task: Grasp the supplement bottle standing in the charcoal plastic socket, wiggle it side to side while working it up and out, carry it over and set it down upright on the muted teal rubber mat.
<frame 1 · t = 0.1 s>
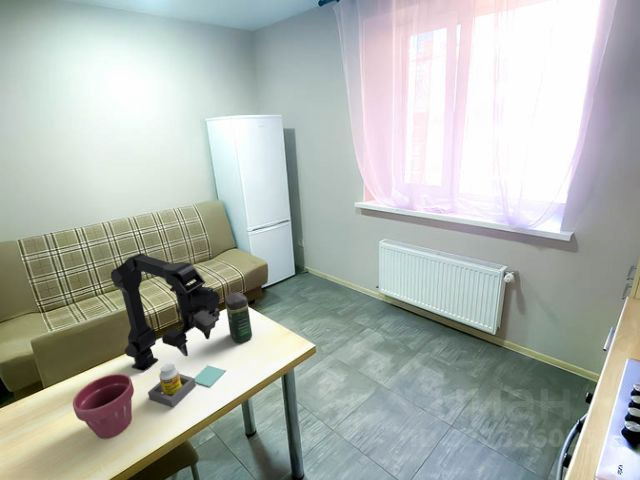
hand: (197, 347, 107), 15 cm above the table, fingers open, 9 cm apart
plant pot: (114, 425, 98), on the table
coffee jar: (241, 336, 136), on the table
supplement bottle: (173, 393, 109), resting in socket
socket: (173, 392, 109), on the table
mat: (208, 376, 115), on the table
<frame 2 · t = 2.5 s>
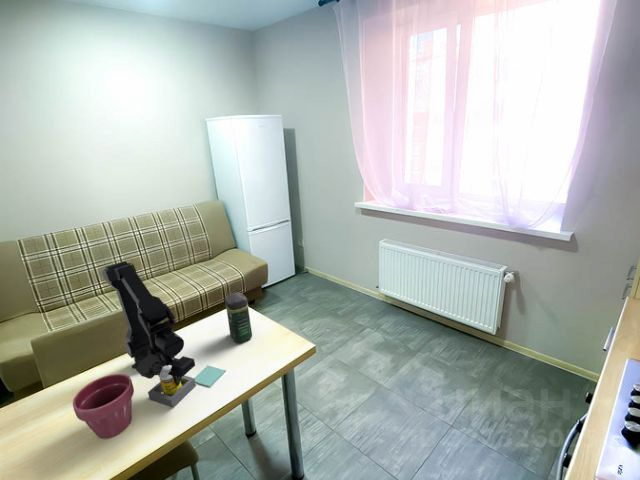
hand: (171, 382, 108), 4 cm above the table, fingers closed on supplement bottle, 5 cm apart
supplement bottle: (173, 393, 109), resting in socket, touching gripper
everything else where it was.
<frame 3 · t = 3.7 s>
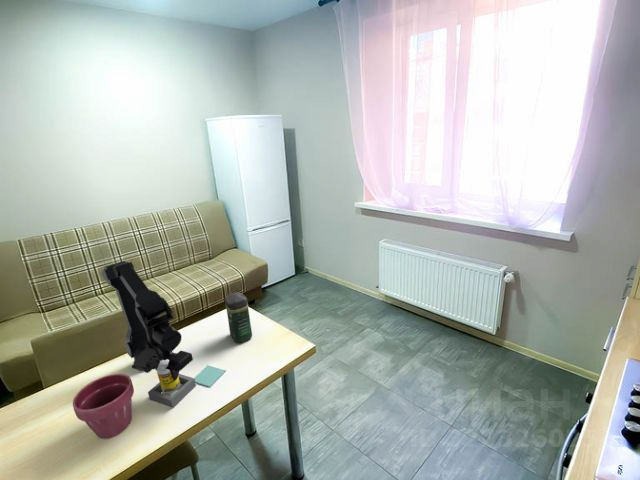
hand: (168, 377, 107), 6 cm above the table, fingers closed on supplement bottle, 5 cm apart
supplement bottle: (171, 387, 109), point 2 cm above the table, touching gripper
everything else where it was.
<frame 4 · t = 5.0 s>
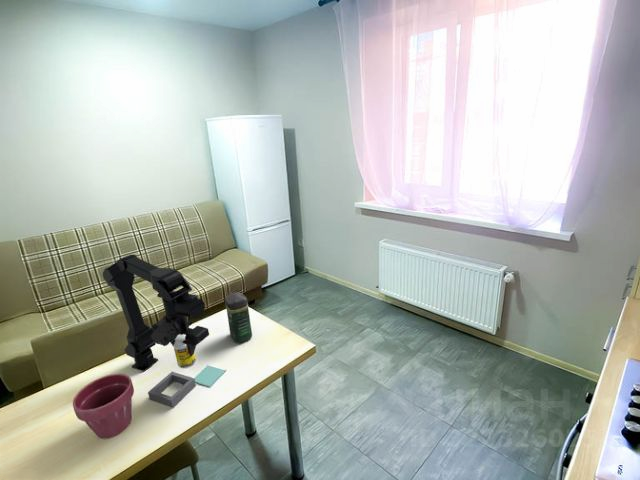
hand: (185, 352, 108), 13 cm above the table, fingers closed on supplement bottle, 5 cm apart
supplement bottle: (187, 364, 109), point 8 cm above the table, touching gripper
everything else where it was.
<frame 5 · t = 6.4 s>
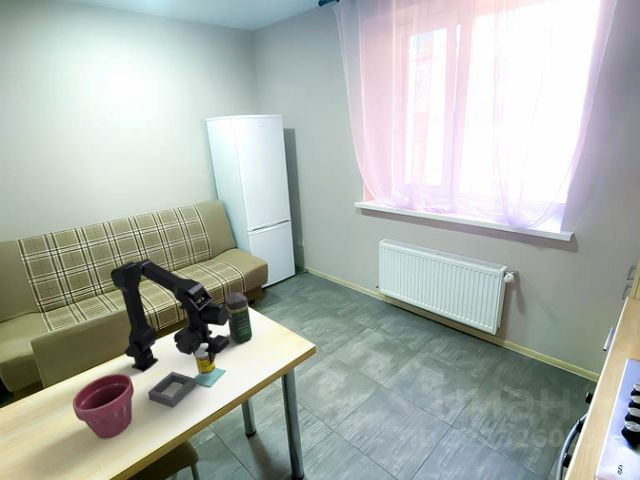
hand: (205, 360, 113), 7 cm above the table, fingers closed on supplement bottle, 5 cm apart
supplement bottle: (207, 370, 114), point 2 cm above the table, touching gripper
everything else where it was.
when the fingers open (5 cm above the table, at t = 7.5 s): supplement bottle stays where it is, resting on mat.
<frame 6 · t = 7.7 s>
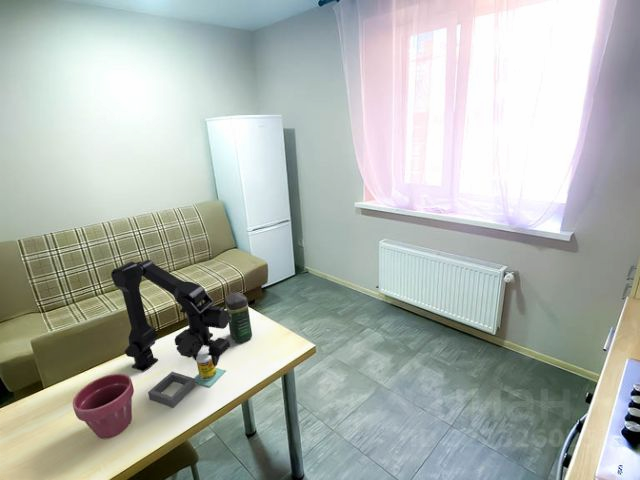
hand: (206, 363, 113), 5 cm above the table, fingers open, 8 cm apart
supplement bottle: (208, 375, 115), resting on mat
everything else where it was.
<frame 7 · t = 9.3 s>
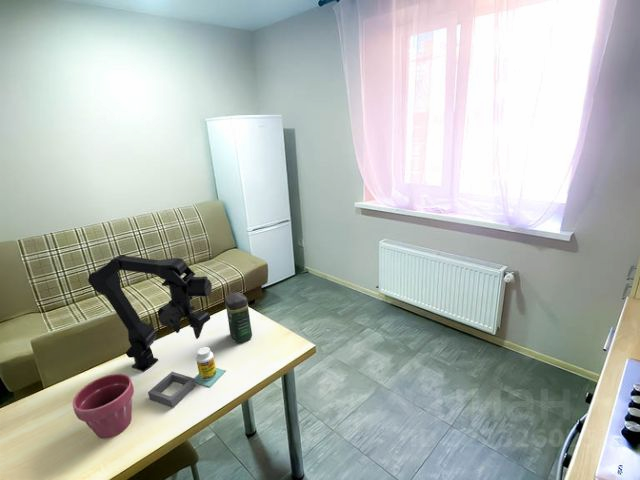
hand: (187, 335, 118), 12 cm above the table, fingers open, 9 cm apart
nothing on the table moved.
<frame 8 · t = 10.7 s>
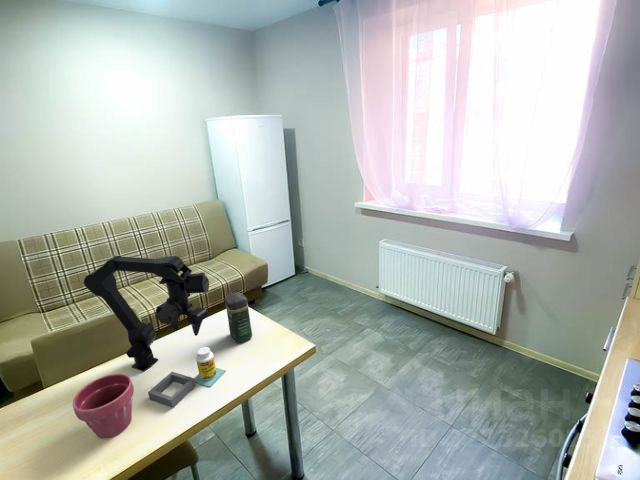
hand: (186, 332, 119), 13 cm above the table, fingers open, 9 cm apart
nothing on the table moved.
at the end: supplement bottle inside the target area on the mat (0.1 cm from its centre), point 0.2 cm above the mat's base; supplement bottle tilted 0°; the gripper is holding nothing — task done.
